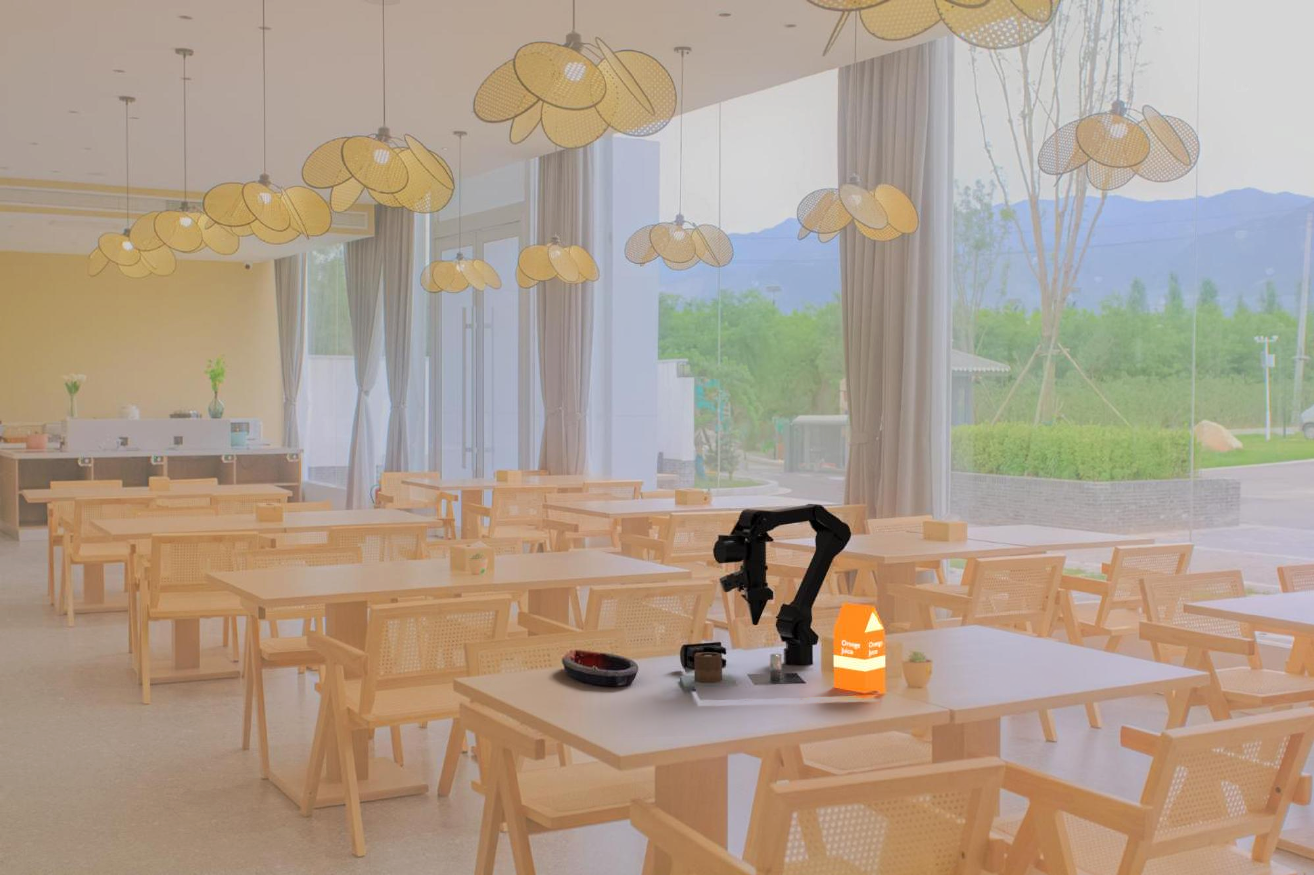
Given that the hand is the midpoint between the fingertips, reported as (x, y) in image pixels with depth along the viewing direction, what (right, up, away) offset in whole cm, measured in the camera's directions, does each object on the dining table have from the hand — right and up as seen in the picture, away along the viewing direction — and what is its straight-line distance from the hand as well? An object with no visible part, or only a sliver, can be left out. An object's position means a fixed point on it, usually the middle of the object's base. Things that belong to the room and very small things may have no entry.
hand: (754, 624), depth 304 cm
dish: (-38, -13, -2) cm, 40 cm away
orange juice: (+22, -12, -22) cm, 34 cm away
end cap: (-12, -12, +5) cm, 18 cm away
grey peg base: (-12, -12, -13) cm, 21 cm away
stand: (+4, -12, -12) cm, 17 cm away
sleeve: (-12, -11, -13) cm, 21 cm away
